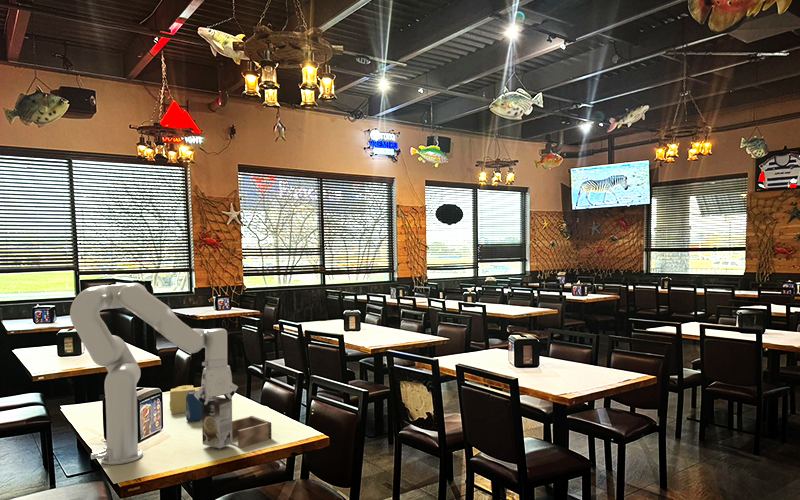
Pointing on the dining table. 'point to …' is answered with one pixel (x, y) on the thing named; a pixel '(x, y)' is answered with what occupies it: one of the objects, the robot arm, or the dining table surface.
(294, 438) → the dining table surface
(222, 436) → the coffee box
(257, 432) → the walnut caddy
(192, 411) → the soda can
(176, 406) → the cheese
